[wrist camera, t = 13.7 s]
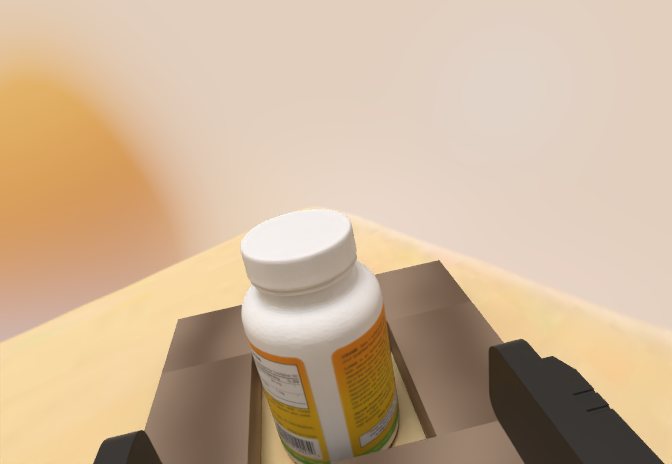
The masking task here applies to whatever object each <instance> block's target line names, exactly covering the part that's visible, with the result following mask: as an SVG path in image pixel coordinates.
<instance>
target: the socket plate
mask: <svg viewBox="0 0 672 464" xmlns="http://www.w3.org/2000/svg"><path fill="white" fill-rule="evenodd" d="M375 277H376V278H377V280H378V282H379V285H380V289H381V294H382V297H383V303H384V309H385V315H386V322H387V330H388V337H389V345H390V351H392V354H393V356H394V359H395V361H396V364H397V366H398V368H399V371H400V373H401V376H402V378H403V381H404V383H405V386H406V388H407V391H408V393H409V396H410V398H411V401H412V403H413V406H414V408H415V411H416V413H417V416H418V418H419V421H420V423H421V425H422V428H423V430H424V433H425V435H426V438H427V439H424V440H420V441H417V442H413V443H409V444H405V445H401V446H397V447H393V448H389V449H385V450H381V451H377V452H373V453H369V454H365V455H362V456H358V457H354V458H350V459H346V460H342V461H338V462H334V463H330V464H524V462H523V460H522V459H521V457H520V455H519V454H518V452H517V451H516V449H515V447H514V446H513V444H512V442H511V441H510V439H509V438H508V436H507V434H506V433H505V431H504V429H503V428H502V426H501V424H500V423H499V421H498V419H497V417H496V415H495V413H494V411H493V408H492V405H491V401H490V396H489V348H490V347H491V346H494V345H498V344H502V343H503V341H502V340H501V339H500V338H499V336H498V335H497V334H496V332H495V331H494V330H493V329H492V327H491V326H490V325H489V323H488V322H487V321H486V320H485V318H484V317H483V316H482V314H481V313H480V312H479V311H478V309H477V308H476V307H475V306H474V304H473V303H472V302H471V300H470V299H469V298H468V297H467V295H466V294H465V293H464V291H463V290H462V289H461V288H460V286H459V285H458V284H457V282H456V281H455V280H454V279H453V277H452V276H451V275H450V274H449V272H448V271H447V270H446V268H445V267H444V266H443V265H442V263H441V262H440V261H439V260H438V261H434V262H430V263H425V264H421V265H416V266H412V267H408V268H403V269H399V270H394V271H390V272H385V273H381V274H377V275H375ZM241 310H242V305H240V306H235V307H231V308H226V309H222V310H218V311H213V312H209V313H204V314H200V315H196V316H191V317H187V318H182V319H178V322H177V325H176V329H175V332H174V335H173V339H172V342H171V345H170V348H169V352H168V355H167V358H166V362H165V365H164V368H163V371H162V375H161V378H160V381H159V384H158V388H157V391H156V394H155V398H154V401H153V404H152V407H151V411H150V414H149V417H148V421H147V424H146V427H145V430H144V432H146V434H147V435H148V437H149V439H150V441H151V443H152V445H153V447H154V448H155V450H156V452H157V454H158V456H159V458H160V460H161V462H162V464H261V379H260V376H259V373H258V370H257V367H256V364H255V361H254V357H253V354H252V351H251V348H250V346H249V343H248V339H247V337H246V334H245V330H244V326H243V322H242V315H241Z"/></svg>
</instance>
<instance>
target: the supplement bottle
mask: <svg viewBox="0 0 672 464" xmlns="http://www.w3.org/2000/svg"><path fill="white" fill-rule="evenodd" d="M241 254H242V257H243V261H244V265H245V268H246V273H247V276H248V278H249V279H250V281H251V283H252V286H251V287H250V288H249V290H248V291H247V293H246V295H245V298H244V300H243V304H242V310H241V315H242V322H243V326H244V330H245V334H246V337H247V339H248V343H249V346H250V348H251V351H252V354H253V357H254V361H255V364H256V367H257V370H258V373H259V376H260V379H261V382H262V385H263V388H264V391H265V394H266V397H267V400H268V403H269V406H270V409H271V412H272V415H273V418H274V421H275V424H276V427H277V430H278V433H279V436H280V439H281V441H282V444H283V446H284V448H285V450H286V451H287V453H288V454H289V456H290V457H291V458H292V459H293V460H294V461H295V462H296V463H297V464H330V463H334V462H338V461H342V460H346V459H350V458H354V457H358V456H362V455H365V454H369V453H373V452H377V451H381V450H385V449H388V448H389V446H390V445H391V443H392V441H393V440H394V438H395V435H396V433H397V429H398V423H399V409H398V399H397V392H396V386H395V379H394V372H393V365H392V359H391V352H390V345H389V337H388V330H387V322H386V315H385V309H384V303H383V297H382V294H381V289H380V285H379V282H378V280H377V278H376V277H375V275H374V274H373V273H372V271H371V270H370V269H369V268H367V267H366V266H365V265H363V264H362V263H361V262H359V261H357V260H356V259H357V254H356V244H355V240H354V235H353V230H352V225H351V222H350V220H349V219H348V217H347V216H345V215H344V214H342V213H339V212H336V211H332V210H326V209H310V210H301V211H295V212H290V213H287V214H283V215H280V216H277V217H274V218H272V219H269V220H267V221H265V222H263V223H261V224H259V225H257V226H256V227H254V228H253V229H252V230H250V231H249V232H248V233H247V234H246V235H245V236H244V238H243V240H242V242H241Z"/></svg>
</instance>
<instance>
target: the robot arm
mask: <svg viewBox="0 0 672 464" xmlns="http://www.w3.org/2000/svg"><path fill="white" fill-rule="evenodd" d="M489 396H490V401H491V405H492V408H493V411H494V413H495V415H496V417H497V419H498V421H499V423H500V424H501V426H502V428H503V429H504V431H505V433H506V434H507V436H508V438H509V439H510V441H511V442H512V444H513V446H514V447H515V449H516V451H517V452H518V454H519V455H520V457H521V459H522V460H523V462H524V464H664V463H663V462H662V461H661V460H660V459H659V457H658V456H657V455H656V454H655V453H654V452H653V451H652V450H651V449H650V448H649V447H648V446H647V445H646V444H645V443H644V441H643V440H642V439H641V438H640V437H639V436H638V435H637V434H636V433H635V432H634V431H633V430H632V429H631V428H630V427H629V426H628V424H627V423H626V422H625V421H624V420H623V419H622V418H621V417H620V416H619V415H618V414H617V413H616V412H615V411H614V410H613V409H610V407H609V404H608V403H607V402H606V401H605V400H604V399H603V398H602V397H601V396H600V395H599V394H598V393H595V391H594V388H593V387H592V386H591V385H590V384H589V383H588V382H587V381H586V380H585V379H584V378H583V377H582V376H581V374H580V373H579V372H578V371H577V370H576V369H574V368H572V367H570V366H569V365H567V364H565V363H564V362H562V361H560V360H559V359H557V358H555V357H553V356H550V357H546V358H542V359H541V357H540V356H539V355H538V354H537V353H536V352H535V350H534V349H533V348H532V347H531V346H530V345H529V344H528V343H527V342H526V341H525V340H523V339H519V340H515V341H511V342H506V343H502V344H498V345H494V346H491V347H490V348H489ZM93 464H162V462H161V460H160V458H159V456H158V454H157V452H156V450H155V448H154V447H153V445H152V443H151V441H150V439H149V437H148V435H147V434H146V432H144V431H142V430H140V431H136V432H132V433H128V434H124V435H120V436H116V437H112V438H108V439H106V440H104V441H103V443H102V444H101V446H100V448H99V451H98V453H97V456H96V458H95V461H94V463H93Z"/></svg>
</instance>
